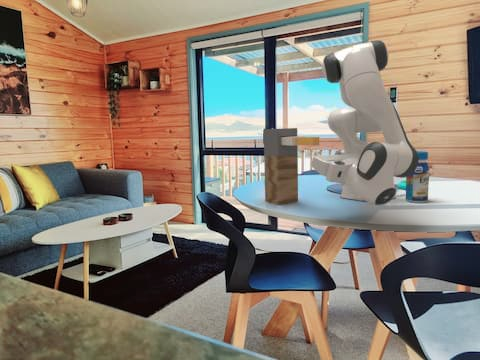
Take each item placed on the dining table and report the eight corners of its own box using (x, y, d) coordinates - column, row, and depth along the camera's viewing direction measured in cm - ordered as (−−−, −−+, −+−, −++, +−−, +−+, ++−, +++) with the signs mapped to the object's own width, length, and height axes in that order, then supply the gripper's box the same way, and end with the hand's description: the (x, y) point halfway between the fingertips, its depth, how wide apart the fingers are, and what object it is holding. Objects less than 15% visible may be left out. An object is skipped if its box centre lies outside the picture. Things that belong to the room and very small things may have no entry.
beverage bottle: (410, 198, 147) (412, 150, 144) (431, 200, 140) (434, 151, 137) (401, 201, 141) (403, 152, 138) (423, 204, 135) (425, 152, 132)
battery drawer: (322, 145, 128) (322, 136, 127) (309, 146, 125) (309, 137, 124) (291, 144, 144) (291, 136, 143) (279, 145, 141) (279, 137, 140)
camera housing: (297, 154, 144) (297, 128, 142) (277, 156, 139) (277, 128, 138) (283, 153, 153) (282, 128, 151) (264, 155, 148) (263, 129, 146)
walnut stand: (298, 201, 147) (297, 154, 144) (278, 205, 142) (277, 156, 139) (283, 198, 156) (283, 153, 153) (265, 201, 151) (264, 155, 148)
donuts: (421, 167, 168) (420, 169, 160) (421, 187, 170) (419, 191, 162) (399, 166, 174) (396, 169, 165) (398, 186, 175) (396, 189, 167)
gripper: (378, 161, 116) (351, 144, 127) (329, 164, 107) (305, 145, 118) (371, 177, 119) (346, 159, 130) (324, 182, 110) (300, 162, 121)
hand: (326, 152), depth 124 cm, fingers open, 8 cm apart
